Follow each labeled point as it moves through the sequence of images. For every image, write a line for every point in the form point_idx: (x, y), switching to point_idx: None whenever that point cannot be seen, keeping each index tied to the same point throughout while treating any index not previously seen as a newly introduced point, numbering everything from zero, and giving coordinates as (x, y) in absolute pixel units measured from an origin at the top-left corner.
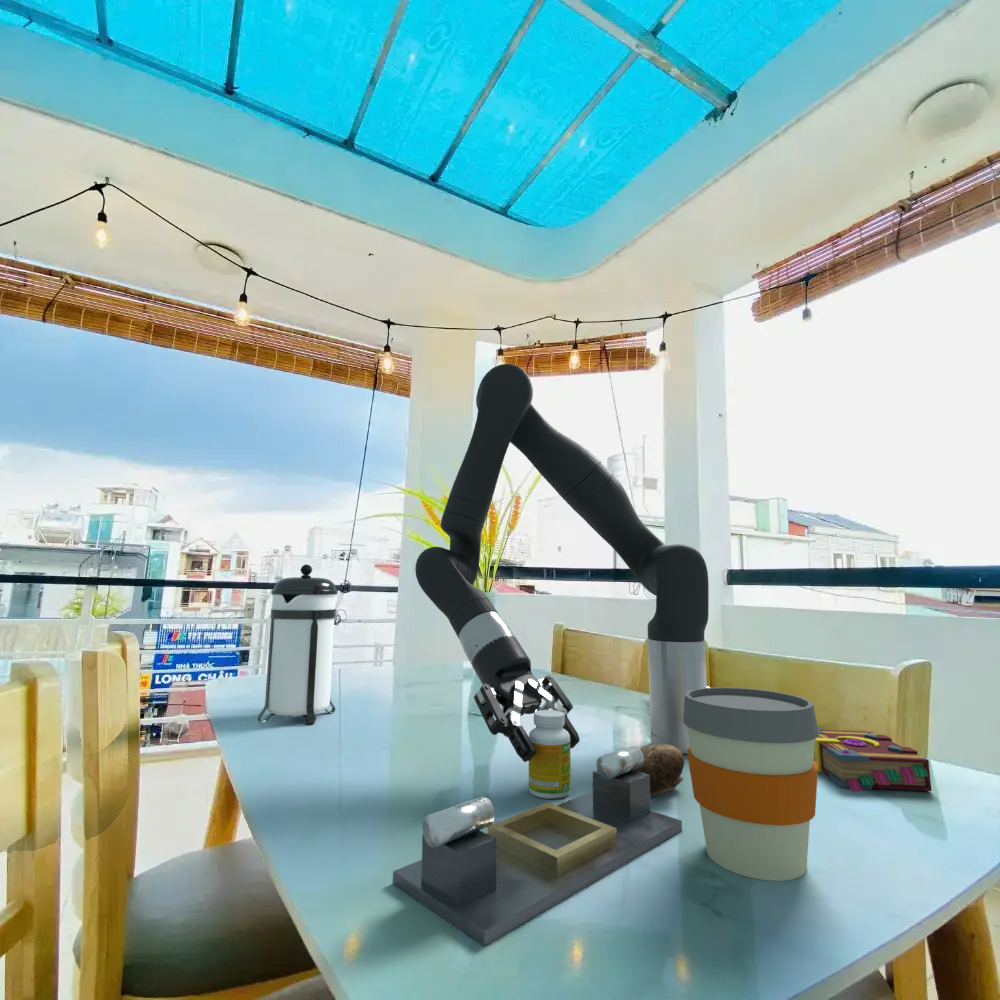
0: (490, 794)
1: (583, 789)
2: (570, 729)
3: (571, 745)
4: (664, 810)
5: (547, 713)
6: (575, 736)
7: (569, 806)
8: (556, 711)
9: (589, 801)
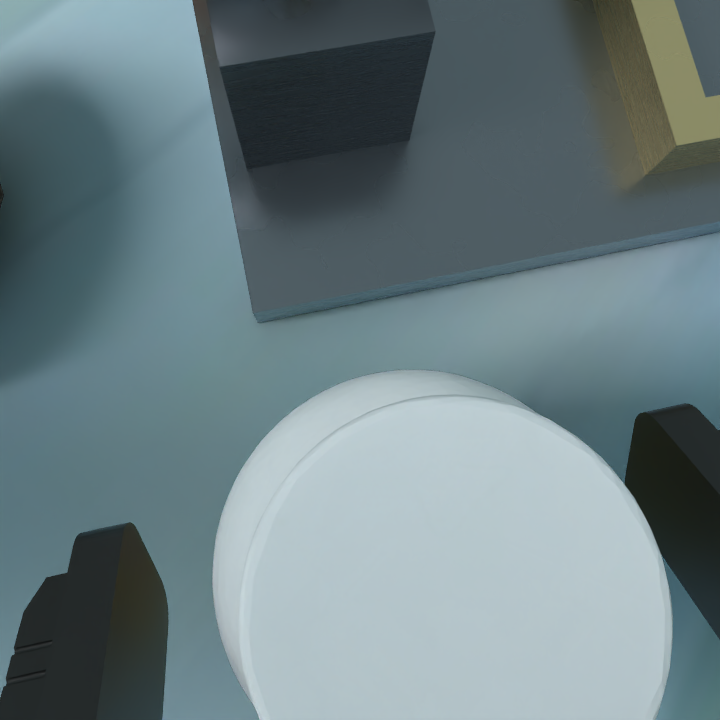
0: (677, 667)
1: (190, 466)
2: (111, 609)
3: (152, 573)
4: (60, 65)
5: (501, 596)
6: (114, 542)
7: (486, 218)
8: (299, 649)
9: (363, 214)
